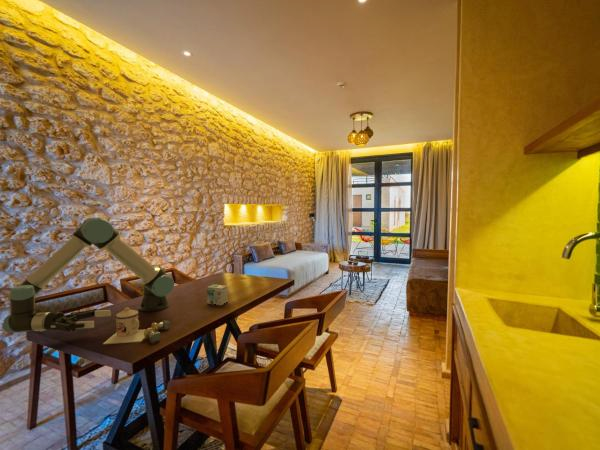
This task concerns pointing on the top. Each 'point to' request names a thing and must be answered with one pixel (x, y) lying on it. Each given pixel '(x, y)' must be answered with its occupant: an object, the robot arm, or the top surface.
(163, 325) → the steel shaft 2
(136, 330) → the teacup with lid
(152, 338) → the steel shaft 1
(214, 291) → the light bulb box
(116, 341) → the pad
